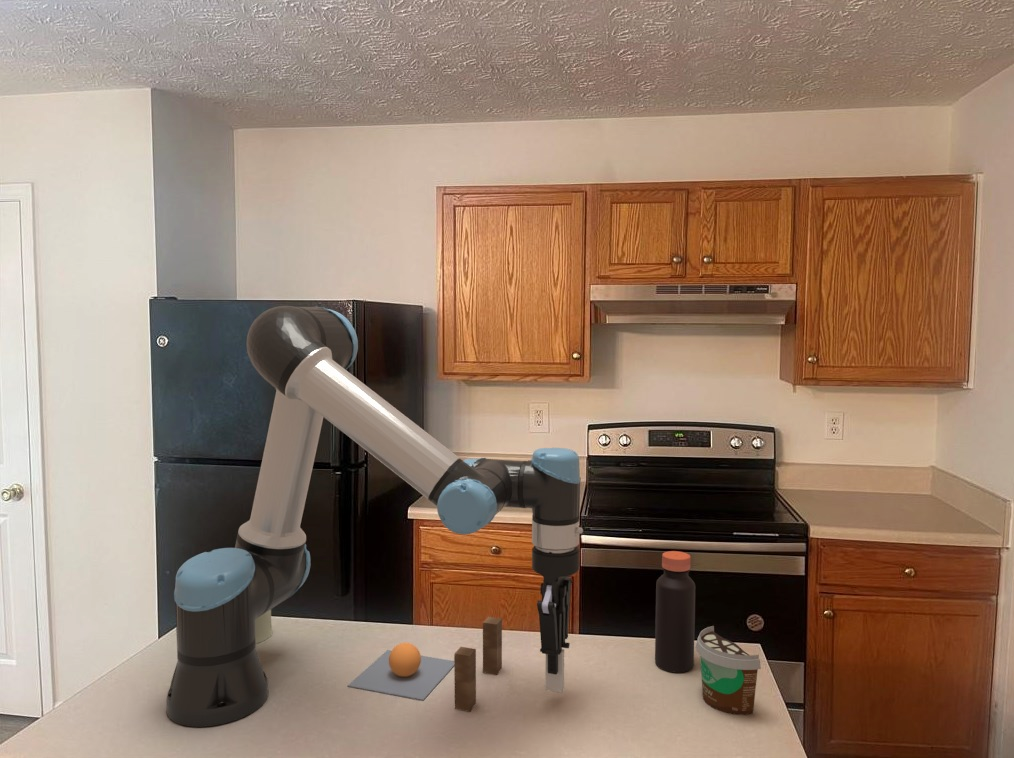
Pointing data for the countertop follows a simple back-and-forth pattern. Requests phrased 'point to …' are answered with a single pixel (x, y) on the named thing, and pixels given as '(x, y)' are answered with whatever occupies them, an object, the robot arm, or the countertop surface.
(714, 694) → the food container
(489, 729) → the countertop surface
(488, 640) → the post
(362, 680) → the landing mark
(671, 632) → the bottle
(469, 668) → the post
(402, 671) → the ball
